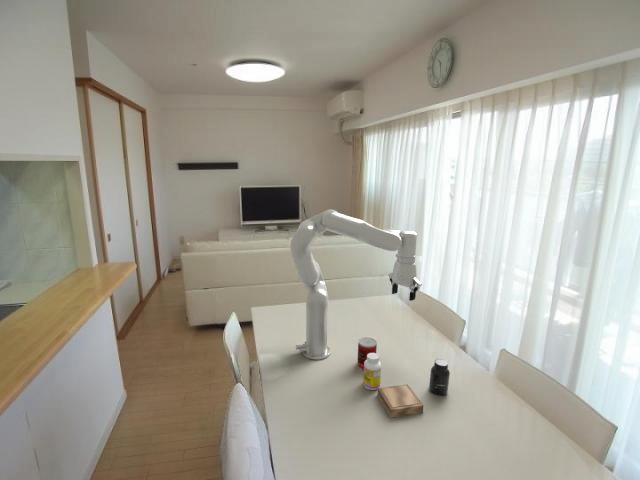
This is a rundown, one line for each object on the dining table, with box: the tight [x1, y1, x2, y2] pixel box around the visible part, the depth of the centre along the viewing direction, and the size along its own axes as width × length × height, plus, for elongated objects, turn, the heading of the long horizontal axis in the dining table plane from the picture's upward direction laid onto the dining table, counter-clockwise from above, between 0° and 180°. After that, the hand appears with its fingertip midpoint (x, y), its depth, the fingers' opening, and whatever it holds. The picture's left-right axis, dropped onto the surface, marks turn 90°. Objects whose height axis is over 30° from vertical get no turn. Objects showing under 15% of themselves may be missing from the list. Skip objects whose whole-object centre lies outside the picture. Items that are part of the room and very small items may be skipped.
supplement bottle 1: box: [362, 352, 382, 391], centre depth 134 cm, size 7×7×13 cm
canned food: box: [357, 336, 378, 370], centre depth 148 cm, size 8×8×11 cm
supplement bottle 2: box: [428, 358, 451, 396], centre depth 132 cm, size 7×7×12 cm
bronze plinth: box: [376, 384, 424, 419], centre depth 125 cm, size 12×12×3 cm
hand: (403, 296), depth 154 cm, fingers open, 9 cm apart
